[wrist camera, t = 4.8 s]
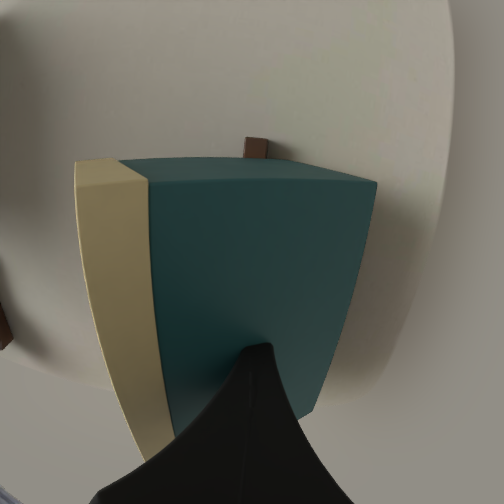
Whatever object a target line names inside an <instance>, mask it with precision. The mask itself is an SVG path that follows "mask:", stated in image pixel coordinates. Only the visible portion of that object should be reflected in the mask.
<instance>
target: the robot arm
mask: <svg viewBox="0 0 504 504" xmlns="http://www.w3.org/2000/svg"><path fill="white" fill-rule="evenodd" d="M0 504H23V503H21V502H20V501H19V500H17V499H16V498H15V497H13V496H12V495H11V494H9V493H8V492H7V491H6V490H5V488H4V487H2V486H1V485H0ZM89 504H354V503H353V502H352V501H351V500H350V499H349V497H348V496H346V494H345V493H344V492H343V490H342V489H341V488H340V487H339V486H338V484H337V483H336V482H335V480H334V479H333V478H332V476H331V475H330V474H329V472H328V471H327V469H326V468H325V467H324V465H323V464H322V463H321V461H320V460H319V458H318V456H317V455H316V453H315V452H314V450H313V448H312V447H311V445H310V443H309V442H308V440H307V438H306V436H305V434H304V433H303V431H302V429H301V427H300V425H299V423H298V421H297V419H296V416H295V414H294V412H293V410H292V407H291V405H290V403H289V400H288V398H287V395H286V392H285V389H284V387H283V384H282V381H281V378H280V375H279V371H278V368H277V364H276V359H275V354H274V346H273V345H272V344H271V343H268V342H265V343H261V344H256V345H251V346H246V347H245V348H244V349H242V350H241V352H240V355H239V357H238V359H237V361H236V362H235V364H234V366H233V368H232V370H231V371H230V373H229V374H228V376H227V377H226V379H225V381H224V382H223V384H222V385H221V387H220V388H219V389H218V391H217V392H216V393H215V395H214V396H213V397H212V399H211V400H210V401H209V402H208V404H207V405H206V406H205V407H204V409H203V410H202V411H201V412H200V413H199V414H198V416H197V417H196V418H195V419H194V420H193V421H192V422H191V423H190V424H189V425H188V426H187V427H186V428H185V429H184V430H183V431H182V432H181V433H180V434H179V435H178V436H177V437H176V438H175V439H174V440H173V441H171V442H170V443H169V444H168V445H167V446H166V447H165V448H163V449H162V450H161V451H160V452H158V453H157V454H156V455H154V456H153V457H152V458H150V459H149V460H148V461H146V462H145V463H144V464H142V465H141V466H139V467H138V468H137V469H135V470H134V471H132V472H131V473H129V474H127V475H126V476H124V477H122V478H120V479H119V480H117V481H115V482H113V483H112V484H110V485H108V486H106V487H104V488H103V489H101V490H99V491H98V492H97V493H96V495H95V496H94V497H93V499H92V500H91V501H90V503H89Z"/></svg>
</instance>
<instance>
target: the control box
mask: <svg viewBox="0 0 504 504" xmlns="http://www.w3.org/2000/svg"><path fill="white" fill-rule="evenodd" d="M13 339H14V338H13V336H12V333H11V331H10V328H9V326H8V323H7V320H6V318H5V315H4V312H3V309H2V306H1V303H0V350H3V349H4V348H5V347H6V346H7V345H8V344H9V343H10V342H11V341H12V340H13Z"/></svg>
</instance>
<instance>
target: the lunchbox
mask: <svg viewBox="0 0 504 504" xmlns="http://www.w3.org/2000/svg"><path fill="white" fill-rule="evenodd" d="M376 189H377V182H375V181H371V180H368V179H364V178H360V177H357V176H353V175H349V174H345V173H341V172H337V171H333V170H329V169H325V168H321V167H317V166H312V165H308V164H303V163H299V162H294V161H289V160H281V159H262V158H229V157H184V158H153V159H134V160H119V161H117V160H115V159H114V158H105V159H94V160H84V161H76V162H75V175H74V193H75V208H76V219H77V229H78V238H79V246H80V253H81V260H82V266H83V272H84V278H85V284H86V289H87V294H88V299H89V304H90V308H91V312H92V317H93V321H94V325H95V329H96V333H97V337H98V340H99V344H100V348H101V351H102V355H103V358H104V361H105V364H106V368H107V371H108V374H109V377H110V380H111V383H112V386H113V389H114V391H115V394H116V397H117V399H118V402H119V405H120V407H121V410H122V413H123V415H124V418H125V420H126V422H127V425H128V427H129V430H130V432H131V434H132V437H133V439H134V441H135V443H136V445H137V447H138V450H139V452H140V454H141V456H142V458H143V460H144V462H146V461H148V460H149V459H150V458H152V457H153V456H154V455H156V454H157V453H158V452H160V451H161V450H162V449H163V448H165V447H166V446H167V445H168V444H169V443H170V442H171V441H173V440H174V439H175V438H176V437H177V436H178V435H179V434H180V433H181V432H182V431H183V430H184V429H185V428H186V427H187V426H188V425H189V424H190V423H191V422H192V421H193V420H194V419H195V418H196V417H197V416H198V414H199V413H200V412H201V411H202V410H203V409H204V407H205V406H206V405H207V404H208V402H209V401H210V400H211V399H212V397H213V396H214V395H215V393H216V392H217V391H218V389H219V388H220V387H221V385H222V384H223V382H224V381H225V379H226V377H227V376H228V374H229V373H230V371H231V370H232V368H233V366H234V364H235V362H236V361H237V359H238V357H239V355H240V352H241V350H242V349H244V348H245V347H246V346H251V345H256V344H261V343H265V342H268V343H271V344H272V345H273V346H274V354H275V359H276V364H277V368H278V371H279V375H280V378H281V381H282V384H283V387H284V389H285V392H286V395H287V398H288V400H289V403H290V405H291V407H292V410H293V412H294V414H295V416H296V419H297V420H298V419H300V418H302V417H304V416H305V415H307V414H309V413H310V412H312V411H313V408H314V406H315V403H316V401H317V398H318V396H319V393H320V391H321V388H322V386H323V383H324V380H325V378H326V375H327V372H328V369H329V367H330V364H331V361H332V358H333V355H334V352H335V350H336V347H337V344H338V341H339V338H340V334H341V331H342V328H343V325H344V322H345V319H346V315H347V312H348V309H349V305H350V302H351V298H352V295H353V291H354V287H355V284H356V280H357V276H358V272H359V269H360V265H361V261H362V256H363V252H364V248H365V244H366V239H367V235H368V230H369V226H370V221H371V216H372V211H373V206H374V200H375V195H376Z"/></svg>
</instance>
